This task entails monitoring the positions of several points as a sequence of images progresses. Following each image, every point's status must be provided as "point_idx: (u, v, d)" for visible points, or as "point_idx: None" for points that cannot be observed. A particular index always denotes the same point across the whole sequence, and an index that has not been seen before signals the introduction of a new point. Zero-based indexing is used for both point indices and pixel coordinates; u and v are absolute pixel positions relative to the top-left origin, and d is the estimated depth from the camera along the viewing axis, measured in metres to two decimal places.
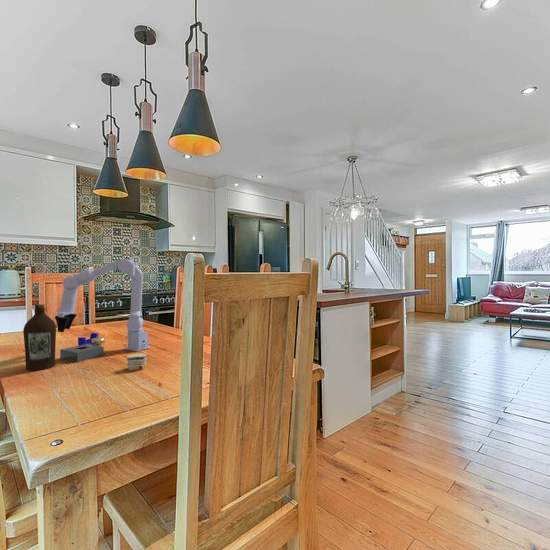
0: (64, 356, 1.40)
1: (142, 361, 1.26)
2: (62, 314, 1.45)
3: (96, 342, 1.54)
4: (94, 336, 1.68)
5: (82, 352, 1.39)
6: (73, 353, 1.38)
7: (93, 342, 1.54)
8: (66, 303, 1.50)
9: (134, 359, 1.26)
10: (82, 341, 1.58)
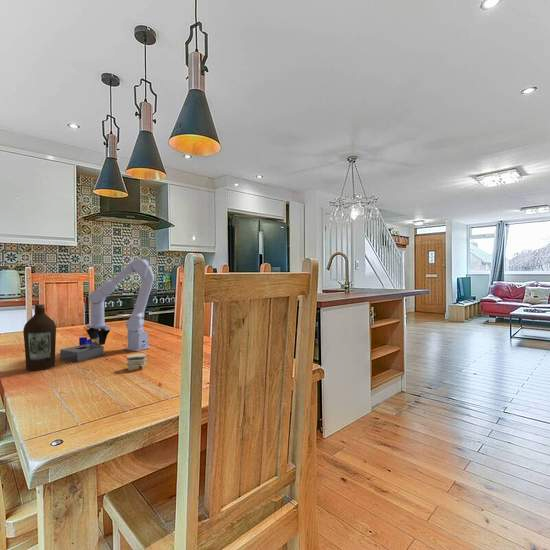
0: (64, 356, 1.40)
1: (142, 361, 1.26)
2: (108, 327, 1.54)
3: (96, 342, 1.54)
4: None
5: (82, 352, 1.39)
6: (73, 353, 1.38)
7: (93, 342, 1.54)
8: (101, 317, 1.55)
9: (134, 359, 1.26)
10: (83, 341, 1.58)
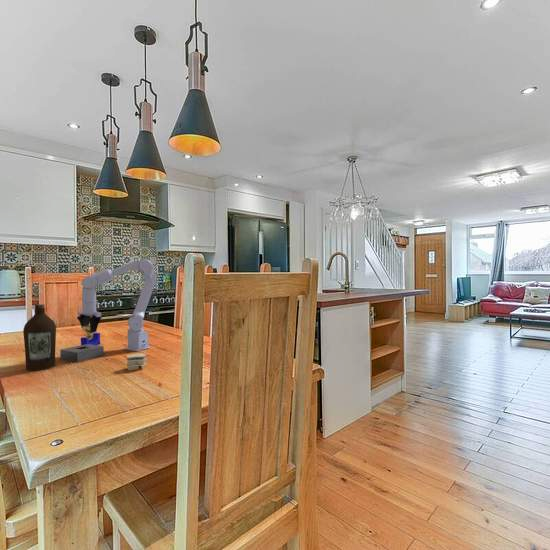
0: (64, 356, 1.40)
1: (142, 361, 1.26)
2: (100, 313, 1.47)
3: (87, 329, 1.47)
4: (96, 336, 1.68)
5: (82, 352, 1.39)
6: (73, 353, 1.38)
7: (84, 329, 1.47)
8: (93, 303, 1.49)
9: (134, 359, 1.26)
10: (85, 341, 1.58)
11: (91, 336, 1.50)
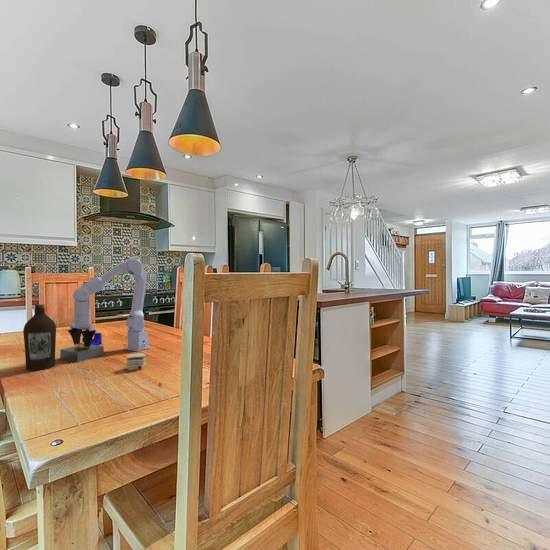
0: (64, 356, 1.40)
1: (141, 361, 1.26)
2: (93, 327, 1.42)
3: (80, 347, 1.42)
4: (98, 336, 1.68)
5: (82, 352, 1.39)
6: (73, 353, 1.38)
7: (77, 347, 1.42)
8: (85, 316, 1.43)
9: (133, 359, 1.26)
10: None
11: None
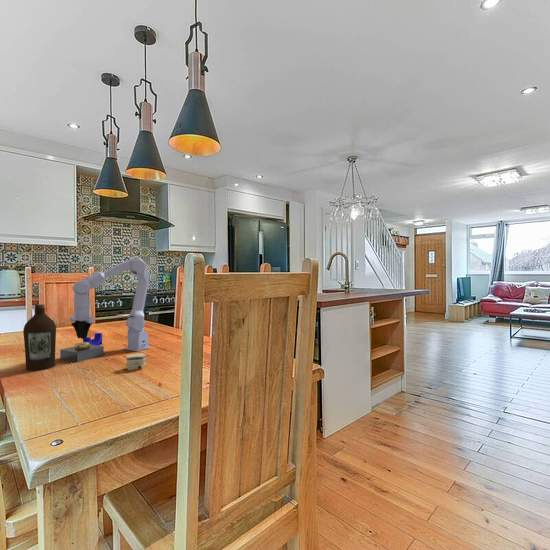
0: (64, 356, 1.40)
1: (141, 361, 1.26)
2: (93, 319, 1.42)
3: (80, 347, 1.42)
4: (98, 336, 1.68)
5: (82, 352, 1.39)
6: (73, 353, 1.38)
7: (77, 347, 1.42)
8: (85, 309, 1.43)
9: (133, 359, 1.26)
10: (87, 341, 1.58)
11: None
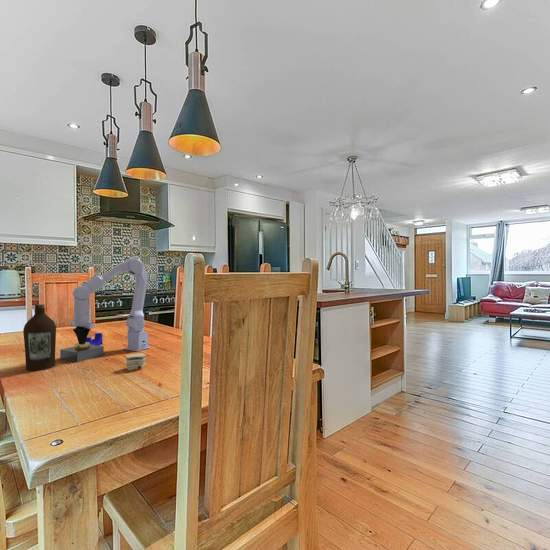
0: (64, 356, 1.40)
1: (141, 361, 1.26)
2: (93, 325, 1.42)
3: (80, 347, 1.42)
4: (99, 336, 1.68)
5: (82, 352, 1.39)
6: (73, 353, 1.38)
7: (77, 347, 1.42)
8: (85, 315, 1.43)
9: (133, 359, 1.26)
10: (88, 341, 1.58)
11: None
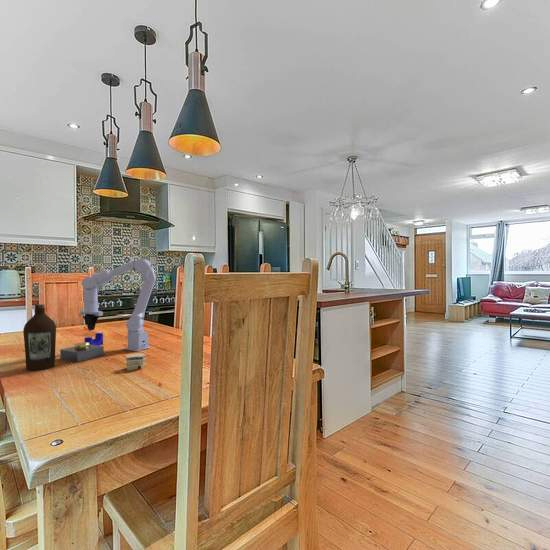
0: (64, 356, 1.40)
1: (141, 361, 1.26)
2: (102, 312, 1.53)
3: (80, 347, 1.42)
4: (99, 336, 1.68)
5: (82, 352, 1.39)
6: (73, 353, 1.38)
7: (77, 347, 1.42)
8: (94, 303, 1.54)
9: (133, 359, 1.26)
10: (89, 341, 1.58)
11: None
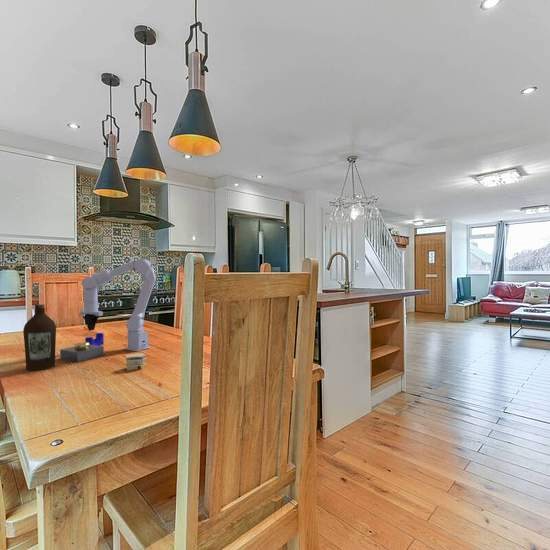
0: (64, 356, 1.40)
1: (140, 361, 1.26)
2: (102, 312, 1.53)
3: (80, 347, 1.42)
4: (100, 336, 1.68)
5: (82, 352, 1.39)
6: (73, 353, 1.38)
7: (77, 347, 1.42)
8: (94, 303, 1.54)
9: (133, 359, 1.26)
10: (90, 341, 1.58)
11: None
